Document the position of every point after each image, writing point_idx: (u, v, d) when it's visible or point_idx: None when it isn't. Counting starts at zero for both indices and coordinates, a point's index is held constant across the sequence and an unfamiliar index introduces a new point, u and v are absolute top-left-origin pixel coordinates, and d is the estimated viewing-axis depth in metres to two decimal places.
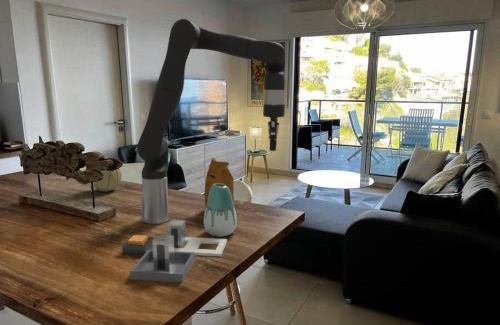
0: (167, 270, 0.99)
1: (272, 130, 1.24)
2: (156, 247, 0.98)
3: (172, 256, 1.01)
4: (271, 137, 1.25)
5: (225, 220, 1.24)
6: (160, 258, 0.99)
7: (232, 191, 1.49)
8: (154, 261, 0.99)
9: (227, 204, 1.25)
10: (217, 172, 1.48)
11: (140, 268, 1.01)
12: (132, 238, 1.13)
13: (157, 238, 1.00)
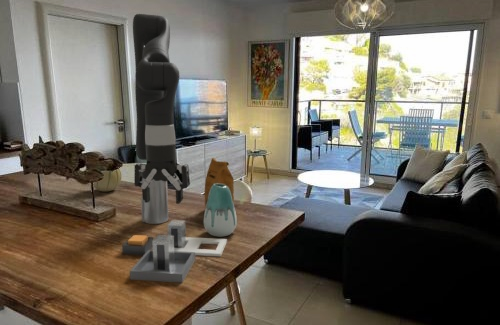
0: (167, 270, 0.99)
1: (187, 176, 0.96)
2: (156, 247, 0.98)
3: (172, 256, 1.01)
4: (187, 185, 0.96)
5: (225, 220, 1.24)
6: (160, 258, 0.99)
7: (232, 191, 1.49)
8: (154, 261, 0.99)
9: (227, 204, 1.25)
10: (217, 172, 1.48)
11: (140, 268, 1.01)
12: (132, 238, 1.13)
13: (157, 238, 1.00)
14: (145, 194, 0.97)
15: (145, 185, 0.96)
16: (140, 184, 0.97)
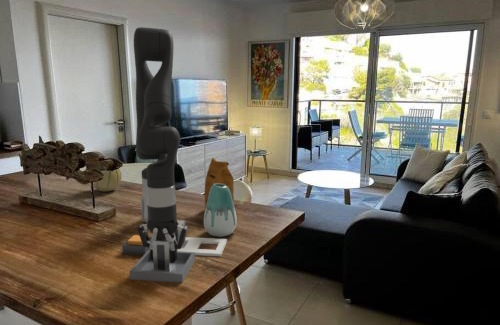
0: (167, 270, 0.99)
1: (184, 238, 0.99)
2: (156, 247, 0.98)
3: None
4: (181, 246, 0.99)
5: (225, 220, 1.24)
6: (160, 258, 0.99)
7: (232, 191, 1.49)
8: (154, 261, 0.99)
9: (227, 204, 1.25)
10: (217, 172, 1.48)
11: (140, 268, 1.01)
12: (132, 238, 1.13)
13: None
14: None
15: (152, 245, 1.00)
16: (148, 243, 1.00)
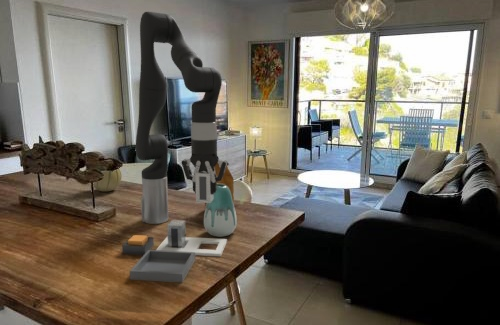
0: (208, 200, 1.09)
1: (224, 171, 1.09)
2: (198, 179, 1.08)
3: None
4: (221, 178, 1.09)
5: (225, 220, 1.24)
6: (202, 189, 1.09)
7: (232, 191, 1.49)
8: (196, 192, 1.09)
9: (227, 204, 1.25)
10: (217, 172, 1.48)
11: (140, 268, 1.01)
12: (132, 238, 1.13)
13: None
14: (195, 186, 1.10)
15: None
16: (191, 176, 1.10)
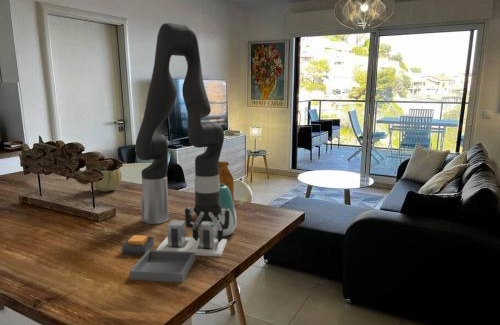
0: None
1: (229, 219, 1.13)
2: (202, 232, 1.12)
3: (215, 240, 1.15)
4: None
5: None
6: (205, 241, 1.13)
7: (232, 191, 1.49)
8: (200, 244, 1.13)
9: (227, 204, 1.25)
10: None
11: (140, 268, 1.01)
12: (132, 238, 1.13)
13: (202, 224, 1.14)
14: (195, 233, 1.14)
15: (195, 226, 1.13)
16: (191, 225, 1.14)
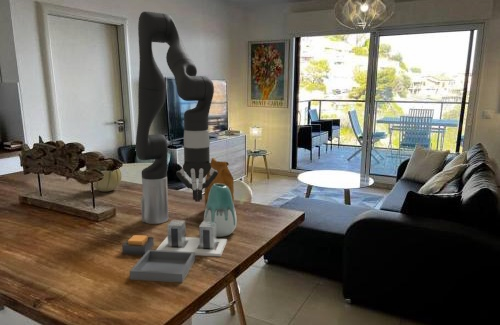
0: None
1: None
2: (202, 232, 1.12)
3: (215, 240, 1.15)
4: None
5: (225, 220, 1.24)
6: (205, 242, 1.13)
7: (232, 191, 1.49)
8: (200, 244, 1.13)
9: (227, 204, 1.25)
10: None
11: (140, 268, 1.01)
12: (132, 238, 1.13)
13: (202, 224, 1.14)
14: (196, 194, 1.11)
15: (195, 186, 1.11)
16: (190, 184, 1.11)
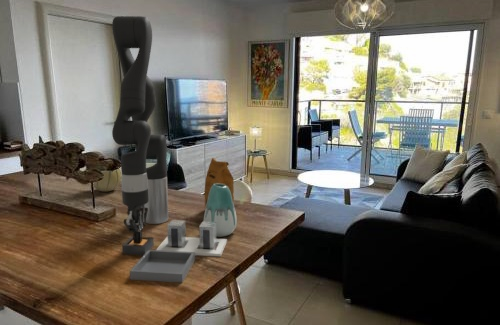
0: None
1: None
2: (202, 232, 1.12)
3: (215, 240, 1.15)
4: None
5: (225, 220, 1.24)
6: (205, 241, 1.13)
7: (232, 191, 1.49)
8: (200, 244, 1.13)
9: (227, 204, 1.25)
10: (217, 172, 1.48)
11: (140, 268, 1.01)
12: (132, 242, 1.13)
13: (202, 224, 1.14)
14: (140, 235, 1.12)
15: (140, 227, 1.11)
16: None
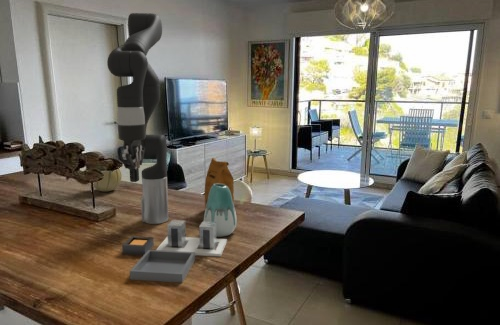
0: None
1: None
2: (202, 232, 1.12)
3: (215, 240, 1.15)
4: None
5: (225, 220, 1.24)
6: (205, 241, 1.13)
7: (232, 191, 1.49)
8: (200, 244, 1.13)
9: (227, 204, 1.25)
10: (217, 172, 1.48)
11: (140, 268, 1.01)
12: (132, 243, 1.13)
13: (202, 224, 1.14)
14: (137, 174, 1.09)
15: (136, 165, 1.08)
16: None
